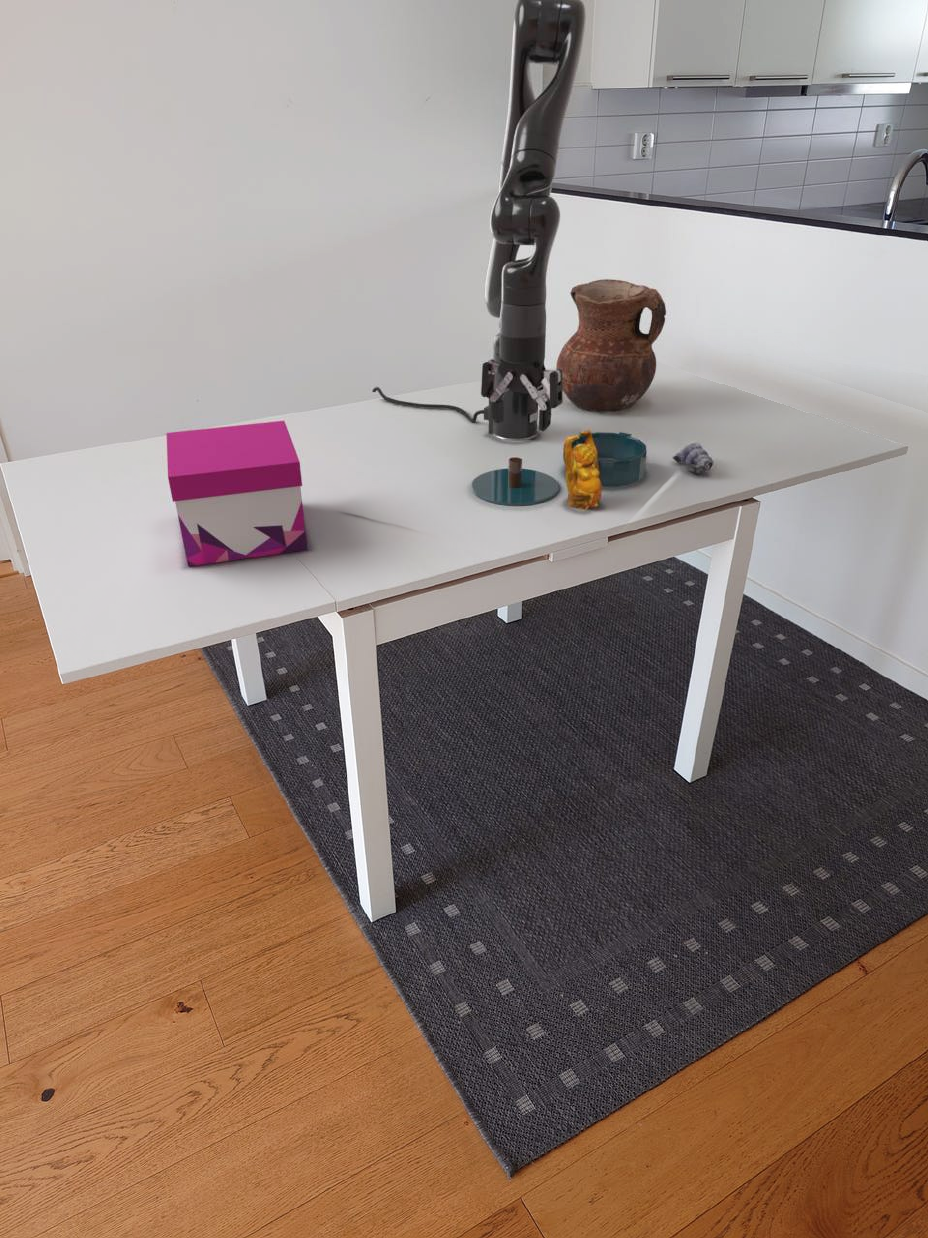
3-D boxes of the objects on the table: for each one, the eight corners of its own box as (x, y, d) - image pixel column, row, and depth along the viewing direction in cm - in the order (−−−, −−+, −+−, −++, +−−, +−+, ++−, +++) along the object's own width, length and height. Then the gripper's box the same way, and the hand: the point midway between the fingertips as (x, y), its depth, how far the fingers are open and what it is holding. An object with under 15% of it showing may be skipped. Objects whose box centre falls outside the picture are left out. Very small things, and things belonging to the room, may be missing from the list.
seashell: (676, 466, 172) (704, 487, 164) (664, 447, 169) (692, 468, 161) (698, 447, 171) (727, 467, 163) (686, 428, 168) (715, 448, 160)
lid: (455, 497, 157) (454, 466, 154) (497, 467, 169) (497, 438, 166) (534, 516, 151) (535, 483, 147) (572, 483, 162) (574, 453, 159)
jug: (558, 418, 192) (564, 298, 178) (550, 388, 209) (555, 277, 196) (661, 417, 192) (675, 297, 178) (643, 387, 209) (655, 276, 196)
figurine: (591, 516, 150) (596, 443, 144) (558, 506, 154) (562, 435, 147) (609, 503, 155) (616, 433, 148) (577, 494, 158) (582, 425, 151)
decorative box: (309, 550, 141) (299, 461, 133) (186, 568, 136) (167, 477, 128) (294, 502, 156) (284, 420, 148) (182, 516, 152) (166, 432, 144)
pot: (545, 484, 162) (546, 456, 159) (589, 449, 176) (591, 423, 173) (620, 501, 155) (623, 472, 153) (659, 463, 170) (662, 436, 167)
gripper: (572, 329, 144) (567, 425, 153) (494, 320, 150) (494, 413, 159) (552, 340, 139) (549, 439, 147) (473, 330, 145) (474, 426, 153)
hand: (520, 425), depth 153 cm, fingers open, 8 cm apart
